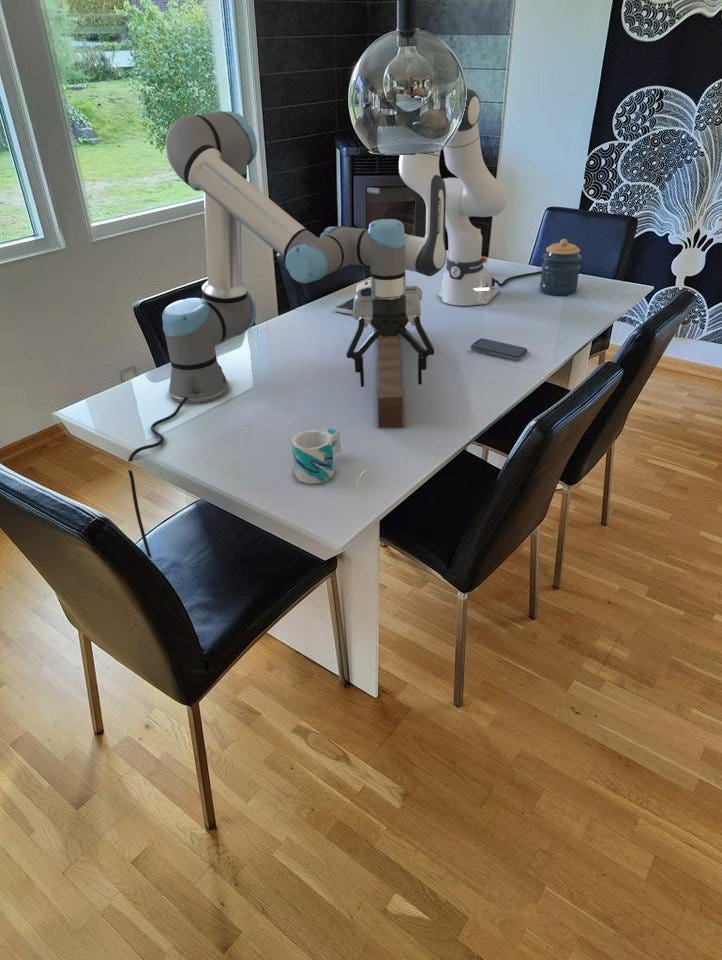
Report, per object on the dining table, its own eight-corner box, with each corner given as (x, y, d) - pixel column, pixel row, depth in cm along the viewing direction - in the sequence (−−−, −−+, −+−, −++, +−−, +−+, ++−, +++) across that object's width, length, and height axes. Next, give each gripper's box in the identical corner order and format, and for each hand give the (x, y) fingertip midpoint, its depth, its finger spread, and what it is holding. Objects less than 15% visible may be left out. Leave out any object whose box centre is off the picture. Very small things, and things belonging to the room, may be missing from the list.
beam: (402, 426, 158) (402, 397, 153) (378, 427, 158) (378, 397, 154) (395, 331, 210) (395, 307, 206) (378, 332, 210) (377, 308, 206)
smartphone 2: (518, 357, 186) (469, 345, 193) (518, 362, 187) (469, 351, 194) (528, 347, 191) (480, 337, 198) (528, 353, 192) (480, 342, 199)
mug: (287, 476, 140) (283, 442, 136) (320, 451, 149) (318, 418, 144) (319, 487, 137) (316, 452, 132) (351, 460, 145) (350, 426, 140)
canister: (550, 297, 232) (557, 245, 222) (532, 287, 242) (537, 236, 233) (584, 293, 235) (591, 241, 225) (564, 283, 245) (571, 233, 236)
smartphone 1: (376, 298, 233) (351, 311, 223) (376, 302, 234) (352, 315, 224) (358, 295, 237) (333, 307, 227) (358, 299, 238) (333, 311, 228)
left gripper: (444, 287, 150) (442, 375, 162) (333, 292, 151) (339, 378, 163) (446, 297, 144) (445, 388, 155) (331, 302, 145) (337, 391, 157)
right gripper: (421, 282, 197) (420, 327, 205) (352, 284, 198) (354, 329, 205) (422, 289, 192) (422, 335, 199) (351, 291, 193) (353, 337, 200)
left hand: (391, 383), depth 159 cm, fingers open, 13 cm apart
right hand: (387, 332), depth 202 cm, fingers closed on beam, 5 cm apart
